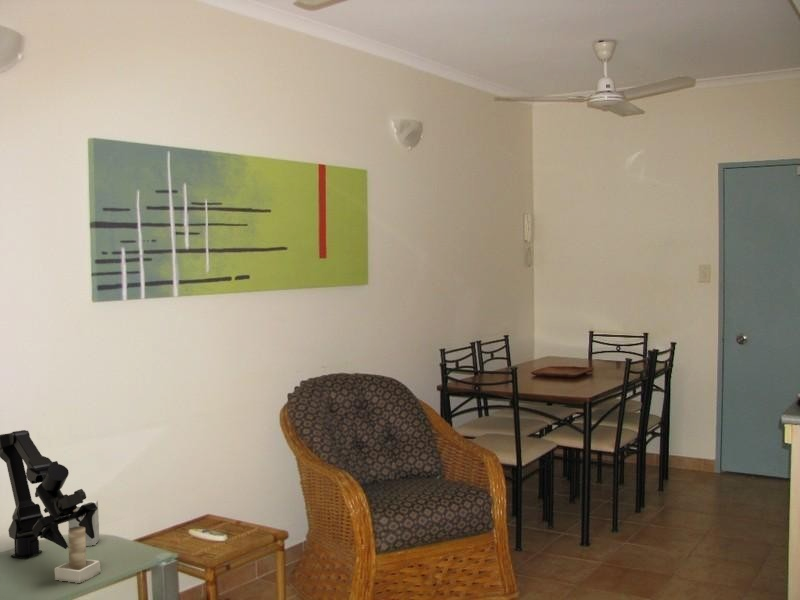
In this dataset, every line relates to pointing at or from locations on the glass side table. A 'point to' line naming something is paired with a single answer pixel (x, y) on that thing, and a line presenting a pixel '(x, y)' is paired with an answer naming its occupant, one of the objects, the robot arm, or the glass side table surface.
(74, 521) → the small box
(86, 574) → the white square tray
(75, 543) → the tan rounded rod
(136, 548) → the glass side table surface
